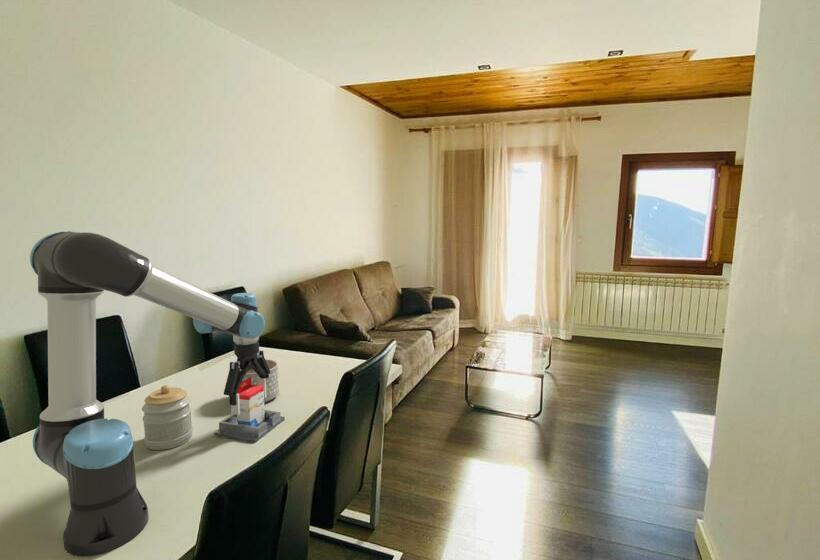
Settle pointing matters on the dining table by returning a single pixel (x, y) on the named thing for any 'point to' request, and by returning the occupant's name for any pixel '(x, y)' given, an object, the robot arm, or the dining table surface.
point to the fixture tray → (248, 427)
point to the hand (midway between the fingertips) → (249, 405)
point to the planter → (271, 382)
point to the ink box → (251, 404)
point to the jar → (167, 418)
